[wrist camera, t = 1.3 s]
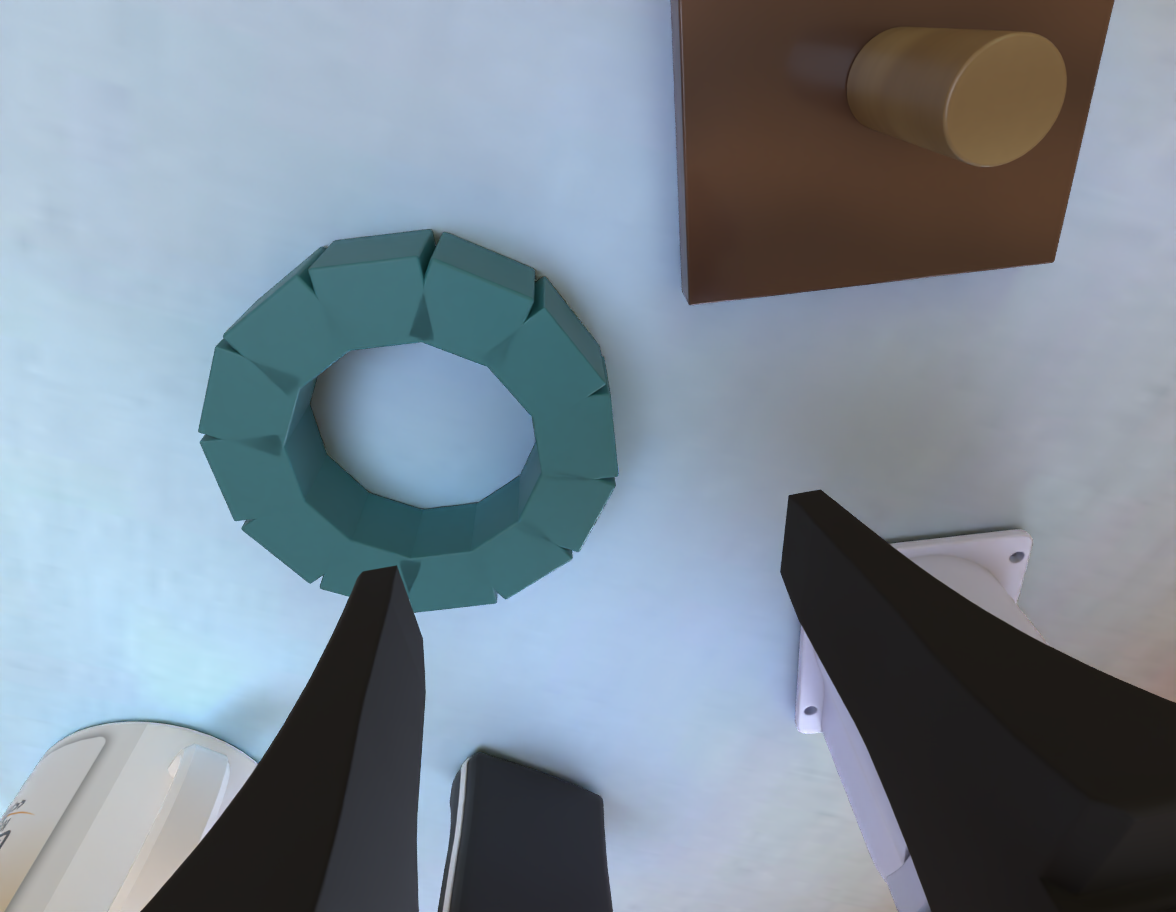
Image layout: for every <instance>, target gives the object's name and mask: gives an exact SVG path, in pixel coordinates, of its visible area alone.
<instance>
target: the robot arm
mask: <svg viewBox="0 0 1176 912" xmlns="http://www.w3.org/2000/svg"><path fill="white" fill-rule="evenodd" d="M1032 546H1033V539H1032V537H1031V536H1030V535H1029V534H1028V533H1027V532H1026V531H1025V530H1023V529H1014V530H1005V531H996V532H987V533H979V534H970V535H961V536H953V537H944V538H935V539H927V540H918V541H909V542H900V543H892V544H889V543H887V542H886V541H885V540H884V539H882V538H881V537H880V536H878V535H877V534H876V533H875V532H873V531H872V530H871V529H870V528H868V527H867V526H866V525H864V524H863V523H862V522H861V521H859V520H858V519H857V518H856V517H854V516H853V515H852V514H851V513H849V512H848V511H847V510H846V509H844V508H843V507H842V506H841V505H839V504H838V503H837V502H836V501H834V500H833V499H832V498H831V497H829V496H828V495H827V494H826V493H824V492H823V491H822V490H815V491H809V492H804V493H798V494H793V495H789V498H788V507H787V516H786V525H785V534H784V543H783V552H782V561H781V570H780V572H781V575H782V578H783V581H784V583H785V586H786V589H787V591H788V594H789V597H790V599H791V602H792V604H793V607H794V609H795V612H796V614H797V617H798V619H799V621H800V623H801V632H800V647H799V663H798V678H797V694H796V709H795V724H796V727H797V730H798V731H799V732H801V733H804V734H811V733H820V732H823V735H824V737H825V740H826V743H827V745H828V748H829V750H830V753H831V755H832V758H833V761H834V763H835V766H836V768H837V771H838V774H839V776H840V779H841V781H842V784H843V786H844V789H845V792H846V794H847V797H848V799H849V802H850V805H851V807H852V810H853V812H854V815H855V817H856V820H857V823H858V825H859V828H860V830H861V833H862V836H863V838H864V841H865V843H866V846H867V848H868V851H869V854H870V856H871V858H872V860H873V862H874V864H875V866H876V868H877V870H878V871H879V873H880V875H881V876H882V878H883V879H884V880H885V882H886V883H887V885H888V887H889V890H890V892H891V895H892V897H893V900H894V903H895V905H896V908H897V910H898V912H1176V703H1175V702H1172V701H1169V700H1167V699H1164V698H1162V697H1159V696H1157V695H1155V694H1152V693H1150V692H1148V691H1145V690H1143V689H1141V688H1138V687H1136V686H1133V685H1131V684H1129V683H1126V682H1124V681H1122V680H1119V679H1117V678H1115V677H1113V676H1110V675H1108V674H1106V673H1104V672H1102V671H1099V670H1097V669H1095V668H1093V667H1091V666H1089V665H1086V664H1084V663H1082V662H1080V661H1078V660H1076V659H1074V658H1072V657H1070V656H1068V655H1066V654H1064V653H1062V652H1060V651H1058V650H1056V649H1054V648H1052V647H1050V645H1049V644H1048V643H1047V642H1046V640H1045V639H1044V638H1043V637H1042V635H1041V634H1040V633H1039V632H1038V630H1037V629H1036V628H1035V627H1034V625H1033V624H1032V623H1031V622H1030V620H1029V619H1028V618H1027V617H1026V615H1025V614H1024V613H1023V612H1022V610H1021V609H1020V608H1019V607H1018V605H1017V602H1018V598H1019V594H1020V590H1021V587H1022V583H1023V579H1024V576H1025V572H1026V568H1027V564H1028V561H1029V557H1030V553H1031V550H1032ZM1015 552H1016V553H1015ZM1013 553H1015V554H1014V555H1012V554H1013ZM425 694H426V691H425V667H424V650H423V638H422V635H421V632H420V629H419V626H418V624H417V621H416V618H415V615H414V612H413V609H412V607H411V604H410V601H409V598H408V595H407V592H406V590H405V587H404V584H403V581H402V578H401V575H400V573H399V570H398V567H397V565H396V566H390V567H384V568H379V569H373V570H368V571H362V573H361V574H360V575H359V576H358V578H357V580H356V582H355V585H354V587H353V590H352V592H351V594H350V597H349V599H348V601H347V604H346V606H345V608H344V610H343V613H342V615H341V617H340V619H339V621H338V623H337V626H336V628H335V630H334V632H333V634H332V636H331V638H330V640H329V642H328V644H327V646H326V648H325V650H324V652H323V654H322V656H321V658H320V660H319V662H318V664H317V666H316V668H315V670H314V672H313V674H312V676H311V677H310V679H309V681H308V683H307V685H306V687H305V688H304V690H303V692H302V693H301V695H300V697H299V699H298V700H297V702H296V704H295V706H294V707H293V709H292V711H291V712H290V714H289V716H288V718H287V719H286V721H285V723H284V725H283V726H282V728H281V729H280V731H279V733H278V734H277V736H276V737H275V739H274V741H273V742H272V744H271V745H270V747H269V748H268V750H267V751H266V753H265V754H264V756H263V757H262V759H261V760H260V762H259V763H258V765H257V766H256V768H255V769H254V771H253V772H252V774H251V775H250V776H249V778H248V779H247V781H246V782H245V784H244V785H243V786H242V788H241V789H240V790H239V792H238V793H237V794H236V796H235V797H234V798H233V800H232V801H231V803H230V804H229V805H228V807H227V808H226V809H225V811H224V812H223V813H222V815H221V816H220V817H219V819H218V820H217V821H216V823H215V824H214V825H213V826H212V828H211V829H210V830H209V832H208V833H207V834H206V835H205V837H204V838H203V839H202V840H201V842H200V843H199V844H198V845H197V847H196V848H195V849H194V850H193V851H192V852H191V854H190V855H189V856H188V857H187V858H186V859H185V861H184V862H183V863H182V864H181V865H180V866H179V868H178V869H177V870H176V871H175V872H174V873H173V875H172V876H171V877H170V878H169V879H168V880H167V882H166V883H165V884H164V885H163V886H162V887H161V889H160V890H159V891H158V892H157V893H156V894H155V896H154V897H153V898H152V899H151V900H150V901H149V903H148V904H147V905H146V906H145V907H144V908H143V909H142V910H141V911H140V912H419V906H418V873H417V812H418V798H419V784H420V769H421V755H422V741H423V726H424V710H425Z"/></svg>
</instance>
